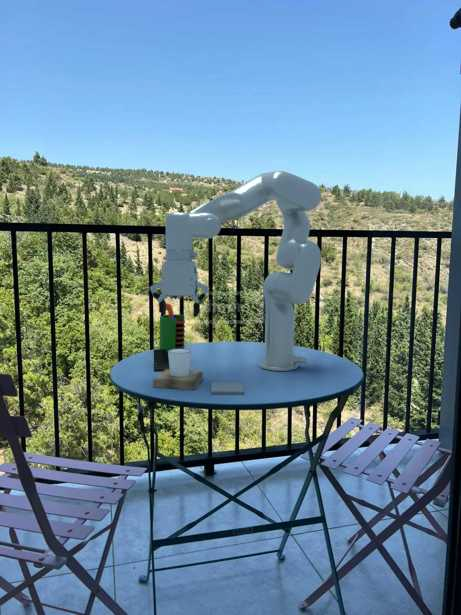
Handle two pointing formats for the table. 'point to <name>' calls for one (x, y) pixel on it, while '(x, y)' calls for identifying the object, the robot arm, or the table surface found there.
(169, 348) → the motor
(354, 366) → the table surface
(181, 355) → the white cup
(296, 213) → the robot arm
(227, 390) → the slate coaster
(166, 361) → the handheld gaming console
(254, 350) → the table surface
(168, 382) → the stand
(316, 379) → the table surface
